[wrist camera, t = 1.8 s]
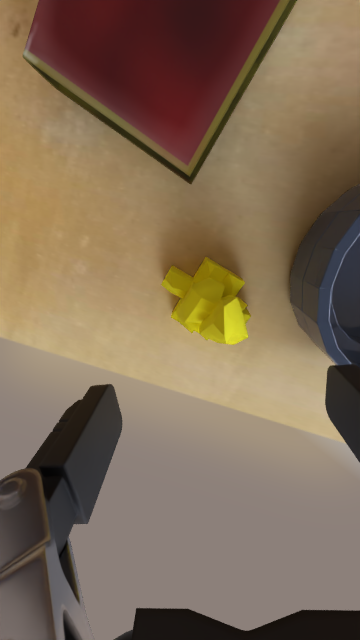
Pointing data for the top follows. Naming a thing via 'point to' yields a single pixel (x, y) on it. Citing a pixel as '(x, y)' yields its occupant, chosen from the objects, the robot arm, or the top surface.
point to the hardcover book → (156, 66)
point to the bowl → (331, 280)
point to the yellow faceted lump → (209, 302)
